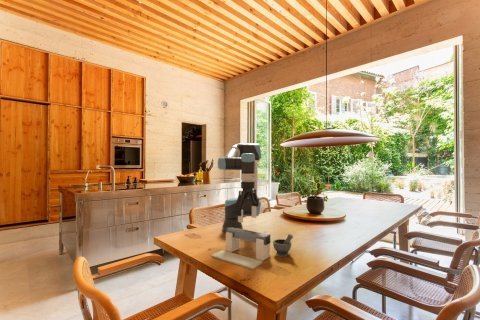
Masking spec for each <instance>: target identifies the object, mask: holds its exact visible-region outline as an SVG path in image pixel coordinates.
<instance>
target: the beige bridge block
mask: <svg viewBox="0 0 480 320" xmlns="http://www.w3.org/2000/svg"><path fill="white" fill-rule="evenodd" d="M239 249H240V239H239V238H234V237H233V233H230V232H225V251H227V252H231V253H234V252H235V251H236V250H239Z"/></svg>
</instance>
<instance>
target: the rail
mask: <svg viewBox="0 0 480 320" xmlns="http://www.w3.org/2000/svg"><path fill="white" fill-rule="evenodd" d="M226 232H230V233H233V237H234V238H239V240H240V239H241V240H243V241H248V242H252V243H256V239H262V240H264V244H265V245H267V244H269V243H270V244H271V234H269V233H262V232H257V231H254V230H253V231H252V230H247V229H239V228H234V227H229V228H226ZM226 232H225V233H226Z"/></svg>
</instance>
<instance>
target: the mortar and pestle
mask: <svg viewBox="0 0 480 320" xmlns="http://www.w3.org/2000/svg"><path fill="white" fill-rule="evenodd" d="M293 238H294V235H292V234H290V233H289V234H287V238H285V239H281V238H278V239H274V240H273V242H272V243H273V244H272V245H273V249H274V250H275V251H276V255H277V256H278V257H283V258H285V257H288V255H289V252H290V250H291V248H292V242H291V241H292V239H293Z"/></svg>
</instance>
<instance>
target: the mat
mask: <svg viewBox="0 0 480 320" xmlns="http://www.w3.org/2000/svg"><path fill="white" fill-rule="evenodd" d="M211 258H215V259H218V260H222V261H224V262H228V263H230V264H234V265H238V266H241V267H244V268H247V269H250V270H254V269H256V268H258V267H259V265H262V264H263V261H261V260H257V259H256V258H252V257H248V256H244V255H241V254H237V253H235V252H229V251H226V250H223V249H222V250H219V251H217V252H215V253H212V254H211Z"/></svg>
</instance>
